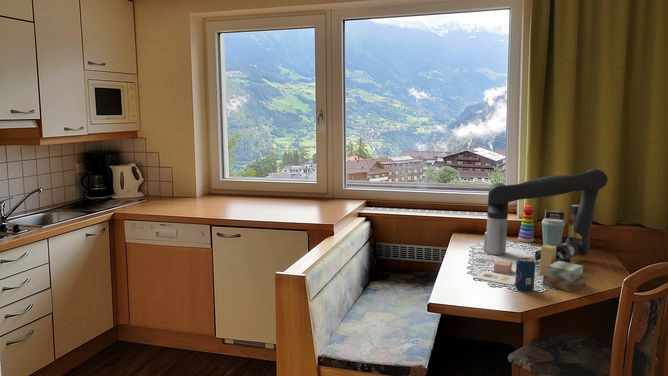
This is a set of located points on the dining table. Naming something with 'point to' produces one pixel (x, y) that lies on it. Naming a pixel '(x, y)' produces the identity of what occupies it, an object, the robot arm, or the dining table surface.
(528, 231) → the stacking toy
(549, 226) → the disposable coffee cup
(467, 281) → the dining table surface
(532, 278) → the soda can
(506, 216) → the robot arm
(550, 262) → the tall brick
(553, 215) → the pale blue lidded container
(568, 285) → the tower base
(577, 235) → the sauce bottle
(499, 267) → the brick
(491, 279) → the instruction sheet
